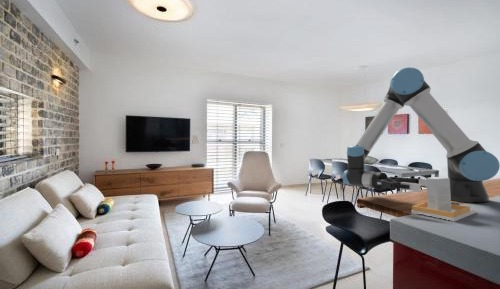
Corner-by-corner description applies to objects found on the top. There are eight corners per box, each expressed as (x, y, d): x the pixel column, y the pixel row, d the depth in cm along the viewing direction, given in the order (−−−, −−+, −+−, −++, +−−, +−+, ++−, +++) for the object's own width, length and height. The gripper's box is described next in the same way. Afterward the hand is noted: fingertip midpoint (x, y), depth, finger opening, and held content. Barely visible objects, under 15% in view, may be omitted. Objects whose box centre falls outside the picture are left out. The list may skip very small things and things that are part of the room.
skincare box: (440, 208, 92) (438, 176, 92) (451, 211, 88) (450, 177, 88) (426, 210, 91) (425, 177, 91) (438, 213, 86) (436, 178, 87)
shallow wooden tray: (434, 206, 101) (434, 199, 101) (476, 212, 89) (475, 205, 89) (411, 213, 92) (411, 205, 92) (454, 221, 80) (453, 213, 80)
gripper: (391, 185, 117) (444, 191, 98) (358, 191, 104) (412, 200, 86) (390, 169, 117) (444, 173, 98) (357, 174, 104) (411, 178, 86)
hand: (429, 185), depth 92 cm, fingers open, 13 cm apart
